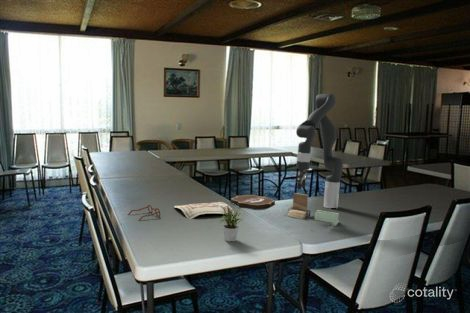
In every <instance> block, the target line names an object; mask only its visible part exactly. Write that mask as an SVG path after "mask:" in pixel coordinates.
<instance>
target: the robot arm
mask: <svg viewBox="0 0 470 313" xmlns="http://www.w3.org/2000/svg"><path fill="white" fill-rule="evenodd" d="M336 100H337V99H336V96H335V95H334V93H319V94H317V95H316V97H315V106H316V107H315V108H316V109H315V110H314V111H312V112H311V113H310V115H309V116H308V117H307V119H306V120H304V121H303V122H302V123H300V124H299V125H298V126H297V128H296V131H295V132H296V136H297V137H298V138H301V139H305V141H301V142H298V148H297V156H296V166H295V168H296V169H297V170H298V171H296V178H295V179H296V180H295V183H297V184H296V185H297V186H296V189H297V190H298V191H300V190H302V188H303V189H304V188H306V184H307V183H306V182H307V180H308V172H309V169H310V167H311V166H310V165H311V151H312V150H311V148H312V144H313V141H314V139H315V136H316V128H317V127H318V125H319V127H320V134H321V136H320V137H321V140H322V150H323V165H324V168H325V170H327V171H331V172H332V174H331V175H326V177H325V184H324V195H323V207H324V208H326V209H331V208H336V209H338V208H339V195H340V188H341V187H340V186H341V178H342V175H343V169H344V168H343V167H344V161H343V159H342V158H341V157H338V156H337V157H336V156H333V147H334V145H335V143H336V140H337V137H338V136H337V130H336V127H335V124H334V123H333V122H332V120H331V119H330V118H329V117H328V115H327V114H328V113H329V112H330V111H331V110H332V109H333V108H334V107H335V105H336Z"/></svg>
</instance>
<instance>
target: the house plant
mask: <svg viewBox="0 0 470 313" xmlns="http://www.w3.org/2000/svg"><path fill="white" fill-rule="evenodd" d="M228 206H229V205H228ZM228 206H227V207H228ZM221 207H222V206H221ZM222 208H223V209H224V207H222ZM237 208H238V209H236V211H235V215H234V216H232V212H233V210H234V209H233V210H232V211H230V209H229V207H228V213H226V211H225V209H224V211H225V212H224V211H223V212H224V214H223V213H222V212H221V213H222V215H223V216H221V218H222V219H220V218H219V217H218V218H217V219H218V220H219V223H222V222H223V223H225V224H223V227H222V230H223V237H224V238H223V239H224V241H225V242H229V241H233V242H236V240H237V236H238V231H239V226H238V223H240V222H244V220H243V219H241V218H238V217H239V216H240V215H241V214H242V213H244V212H245V211H246V209H243V210H242V211H241V212H239V210H240V207H237ZM219 210H220V209H219ZM225 213H226V214H225ZM239 220H240V221H239Z"/></svg>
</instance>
